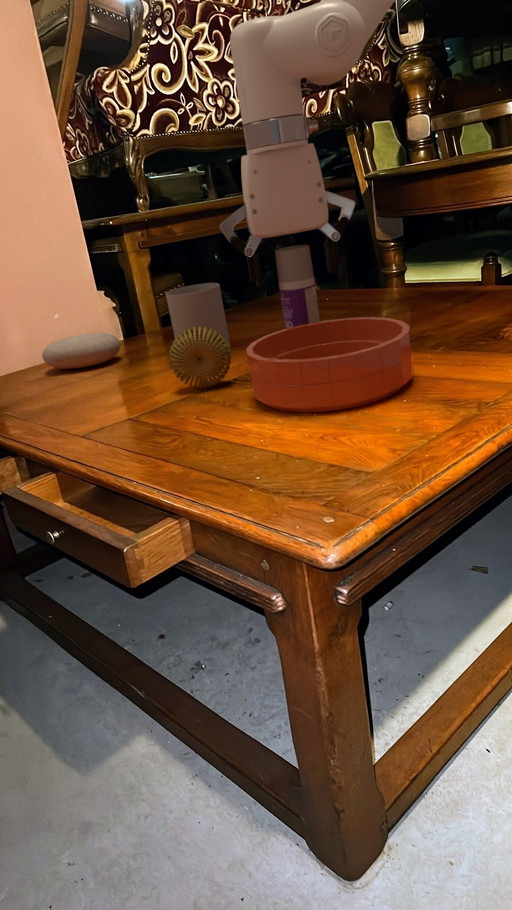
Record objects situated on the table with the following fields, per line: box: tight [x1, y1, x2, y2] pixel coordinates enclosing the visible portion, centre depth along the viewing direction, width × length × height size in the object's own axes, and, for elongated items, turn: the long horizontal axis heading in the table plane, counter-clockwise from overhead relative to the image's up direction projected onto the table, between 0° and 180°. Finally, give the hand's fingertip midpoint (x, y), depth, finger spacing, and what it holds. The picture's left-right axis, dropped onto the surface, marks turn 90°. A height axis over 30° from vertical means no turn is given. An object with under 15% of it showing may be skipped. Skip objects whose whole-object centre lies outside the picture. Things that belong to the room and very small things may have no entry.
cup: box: [165, 282, 232, 356], centre depth 107 cm, size 8×8×10 cm
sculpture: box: [168, 326, 233, 389], centre depth 89 cm, size 8×4×8 cm, turn 90°
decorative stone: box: [41, 332, 121, 370], centre depth 114 cm, size 13×9×5 cm
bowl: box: [245, 316, 414, 413], centre depth 80 cm, size 19×19×6 cm
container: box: [274, 244, 321, 329], centre depth 92 cm, size 5×5×15 cm
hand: (296, 279), depth 90 cm, fingers open, 9 cm apart
